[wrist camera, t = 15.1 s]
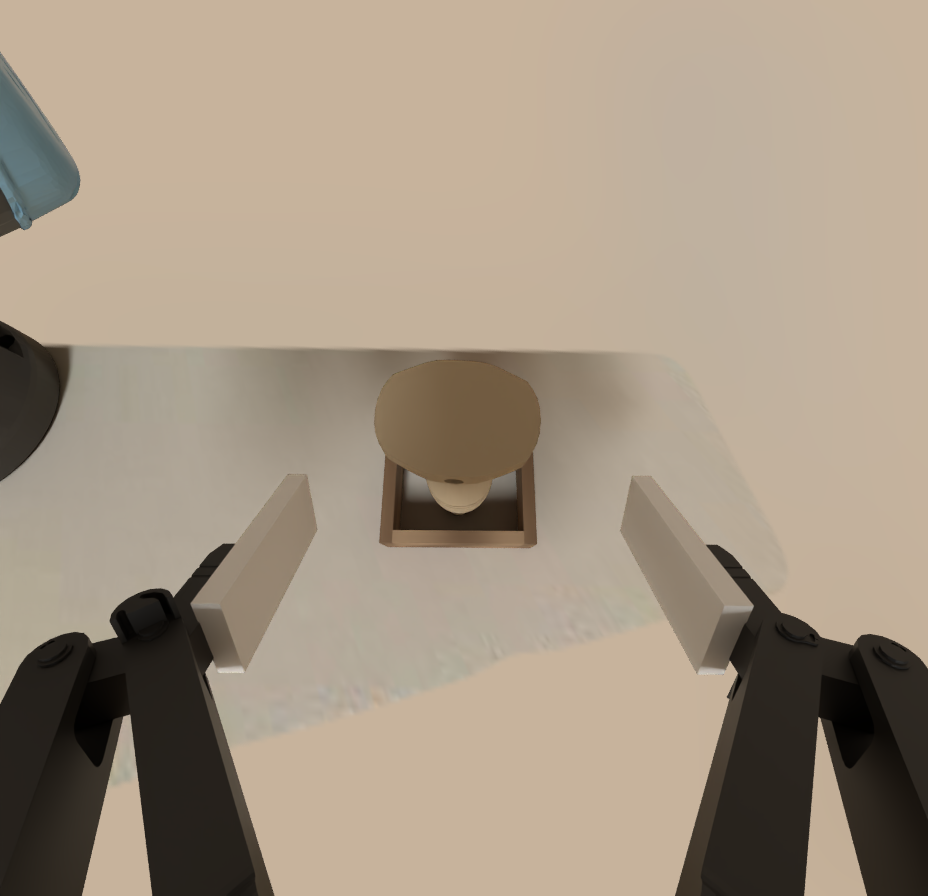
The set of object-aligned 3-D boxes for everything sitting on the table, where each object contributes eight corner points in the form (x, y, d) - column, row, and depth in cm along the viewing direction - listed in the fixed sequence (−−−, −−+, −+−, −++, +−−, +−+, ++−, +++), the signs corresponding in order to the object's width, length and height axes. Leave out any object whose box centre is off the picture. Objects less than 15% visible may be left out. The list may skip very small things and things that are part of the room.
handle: (419, 459, 31) (382, 355, 17) (505, 465, 31) (541, 365, 17) (412, 524, 30) (366, 470, 15) (502, 530, 29) (540, 481, 15)
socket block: (387, 546, 29) (379, 542, 26) (394, 442, 32) (387, 427, 29) (529, 548, 29) (537, 543, 26) (525, 443, 32) (531, 428, 29)
